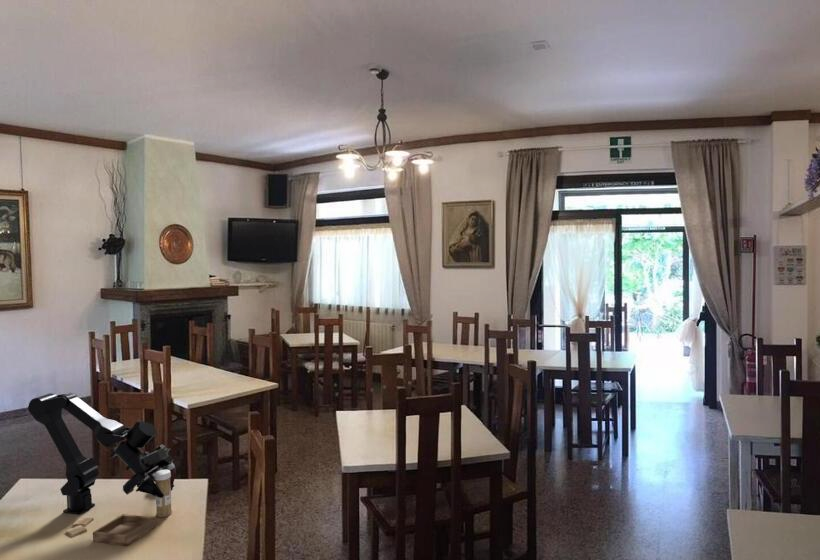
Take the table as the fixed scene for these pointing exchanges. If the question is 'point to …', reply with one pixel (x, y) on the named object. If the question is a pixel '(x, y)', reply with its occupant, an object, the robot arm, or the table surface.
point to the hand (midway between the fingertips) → (167, 493)
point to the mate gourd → (172, 470)
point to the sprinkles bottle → (164, 485)
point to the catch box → (124, 529)
